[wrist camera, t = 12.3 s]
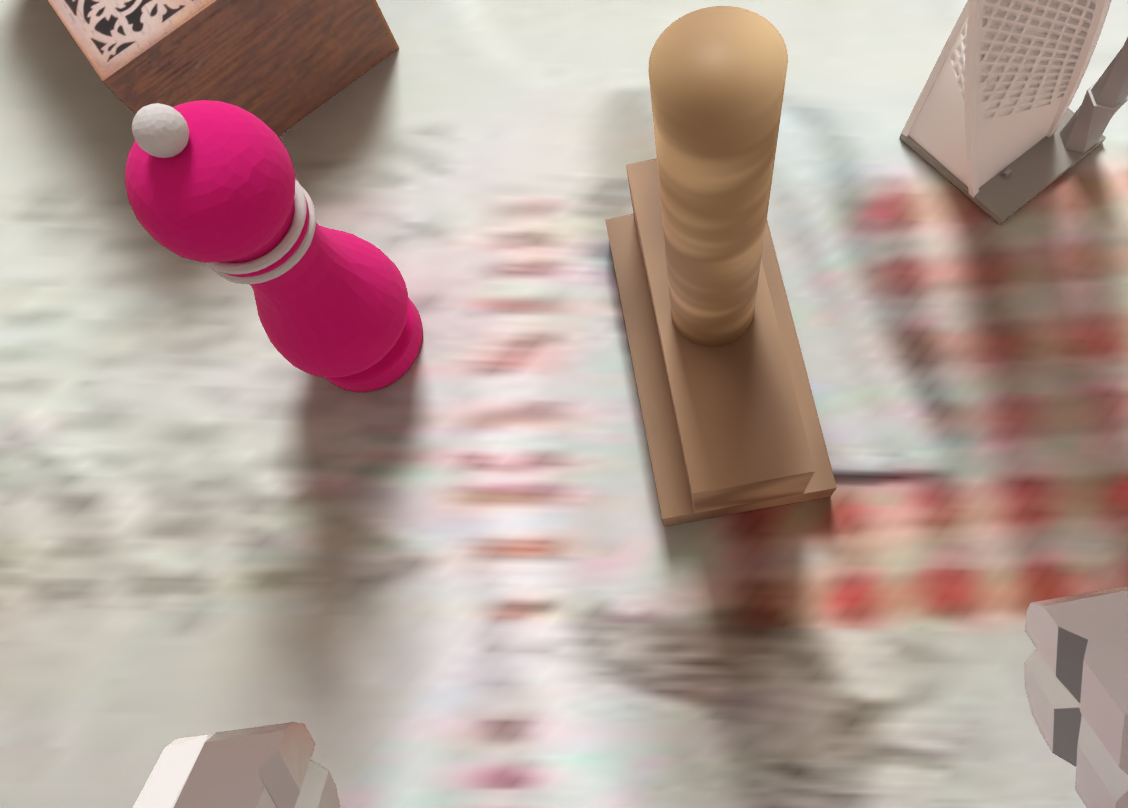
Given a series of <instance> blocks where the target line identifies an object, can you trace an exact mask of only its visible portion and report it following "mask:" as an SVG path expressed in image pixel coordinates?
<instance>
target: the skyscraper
mask: <svg viewBox="0 0 1128 808" xmlns="http://www.w3.org/2000/svg"><path fill="white" fill-rule="evenodd" d="M1110 3H1111V0H968V1H967V3H966V5H965V7H964V9H963V11H962V13H961V15H960V17H959V19H958V21H957V23H956V25H955V27H954V28H953V30H952V32H951V34H950V36H949V38H948V40H947V42H946V44H945V46H944V48H943V50H942V52H941V54H940V56H939V58H938V60H937V62H936V64H935V66H934V68H933V70H932V72H931V74H930V76H929V78H928V80H927V82H926V84H925V86H924V88H923V90H922V92H921V94H920V96H919V98H918V100H917V102H916V104H915V106H914V108H913V110H912V113H911V115H910V117H909V119H908V121H907V123H906V125H905V127H904V129H903V131H902V133H901V136H900V139H901V140H902V141H903V142H904V143H906V144H907V145H908V146H909V147H910V148H911V149H913V150H914V151H915V152H916V153H917V154H918V155H920V156H921V157H922V158H923V159H924V160H925V161H927V162H928V163H929V164H930V165H931V166H932V167H933V168H935V169H936V170H937V171H938V172H939V173H940V174H942V175H943V176H944V177H945V178H946V179H947V180H949V181H950V182H951V183H952V184H953V185H954V186H956V187H957V188H958V189H959V190H960V191H961V192H963V193H964V194H965V195H966V196H967V197H968V198H969V199H971V200H972V201H973V202H974V203H975V204H976V205H978V206H979V207H980V208H981V209H982V210H983V211H985V212H986V213H987V214H988V215H989V216H990V217H992V218H993V219H994V220H995V221H996V222H997V223H999V224H1001V223H1002V222H1003V221H1005V220H1006V219H1007V218H1008V217H1010V216H1011V215H1012V214H1013V213H1015V212H1016V211H1017V210H1018V209H1020V208H1021V207H1022V206H1023V205H1025V204H1026V203H1027V202H1028V201H1030V200H1031V199H1032V198H1034V197H1035V196H1036V195H1037V194H1039V193H1040V192H1041V191H1042V190H1044V189H1045V188H1046V187H1047V186H1049V185H1050V184H1051V183H1052V182H1054V181H1055V180H1056V179H1057V178H1059V177H1060V176H1061V175H1062V174H1064V173H1065V172H1066V171H1067V170H1069V169H1070V168H1071V167H1072V166H1074V165H1075V164H1076V163H1077V162H1079V161H1080V160H1081V159H1082V158H1084V157H1085V156H1086V155H1087V154H1089V153H1090V152H1091V151H1092V150H1094V149H1095V148H1096V147H1097V146H1099V145H1100V144H1101V143H1102V142H1103V141H1104V140H1105V138H1106V137H1105V136H1103V135H1102V134H1103V132H1104V130H1105V128H1106V126H1107V124H1108V123H1109V121H1110V119H1111V118H1112V116H1113V115H1114V114H1115V112H1116V111H1117V110H1118V109H1119V108H1120V107H1121V106H1122V105H1123V104H1124V103H1125V102H1126V101H1128V38H1127V40H1126V42H1125V44H1124V46H1123V47H1122V49H1121V50H1120V51H1119V53H1118V54H1117V55H1116V57H1115V58H1114V59H1113V61H1112V62H1111V64H1110V65H1109V66H1108V68H1107V69H1106V70H1105V72H1104V73H1103V74H1102V76H1101V77H1100V78H1099V80H1098V81H1097V82H1096V83H1095V84H1094V85H1093V86H1091V87H1090V88H1089V89H1088V90H1087V92H1086V95H1085V97H1084V100H1083V103H1082V105H1081V106H1080V107H1079V109H1078V110H1077V111H1076V112H1075V113H1074V112H1072V111H1071V110H1070V109H1068V107H1069V105H1070V103H1071V101H1072V99H1073V97H1074V95H1075V93H1076V91H1077V89H1078V87H1079V84H1080V82H1081V80H1082V78H1083V76H1084V73H1085V71H1086V69H1087V67H1088V64H1089V62H1090V59H1091V57H1092V54H1093V52H1094V49H1095V47H1096V44H1097V41H1098V39H1099V36H1100V33H1101V30H1102V27H1103V24H1104V21H1105V18H1106V16H1107V13H1108V10H1109V6H1110Z"/></svg>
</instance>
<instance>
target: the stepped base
mask: <svg viewBox="0 0 1128 808" xmlns="http://www.w3.org/2000/svg"><path fill="white" fill-rule="evenodd" d="M626 168H627V174H628V181H629V187H630V193H631V200H632V206H633V212H634V214H630V215H626V216H621V217H616V218H612V219H607V220H606V225H607V231H608V236H609V241H610V246H611V252H612V257H613V262H614V267H615V273H616V278H617V283H618V289H619V294H620V299H621V304H622V310H623V315H624V320H625V325H626V331H627V336H628V341H629V347H630V352H631V357H632V362H633V368H634V373H635V378H636V384H637V389H638V394H639V399H640V405H641V410H642V415H643V420H644V426H645V431H646V436H647V442H648V447H649V452H650V457H651V463H652V468H653V473H654V478H655V484H656V489H657V494H658V500H659V505H660V510H661V515H662V520H663V524H664V526H668V525H673V524H679V523H685V522H690V521H696V520H702V519H707V518H713V517H718V516H724V515H730V514H735V513H741V512H747V511H752V510H758V509H763V508H769V507H775V506H780V505H786V504H792V503H797V502H803V501H808V500H814V499H820V498H825V497H831V495H832V494H833V492H834V491H835V489H836V484H835V480H834V476H833V472H832V468H831V464H830V461H829V457H828V453H827V449H826V445H825V441H824V438H823V434H822V430H821V426H820V422H819V418H818V414H817V411H816V407H815V403H814V399H813V395H812V391H811V388H810V384H809V380H808V376H807V372H806V368H805V364H804V361H803V357H802V353H801V349H800V345H799V341H798V338H797V334H796V330H795V326H794V322H793V318H792V314H791V311H790V307H789V303H788V299H787V295H786V291H785V288H784V284H783V280H782V276H781V272H780V268H779V264H778V261H777V257H776V253H775V249H774V245H773V241H772V238H771V234H770V230H769V226H768V222H767V220H766V227H765V235H764V242H763V250H762V257H761V265H760V272H759V279H758V287H757V294H756V302H755V309H754V316H753V320H752V322H751V324H750V326H749V328H748V329H747V331H746V332H745V333H744V334H743V335H742V336H741V337H740V338H738V339H737V340H735V341H734V342H732V343H729V344H727V345H724V346H719V347H705V346H700V345H697V344H694V343H692V342H690V341H689V340H687V339H686V338H684V337H683V336H682V335H681V334H680V333H679V331H678V330H677V328H676V327H675V325H674V323H673V320H672V315H671V306H670V295H669V284H668V273H667V263H666V252H665V241H664V230H663V219H662V209H661V198H660V187H659V176H658V166H657V158H656V159H652V160H647V161H643V162H638V163H634V164H629V165H626Z"/></svg>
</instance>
